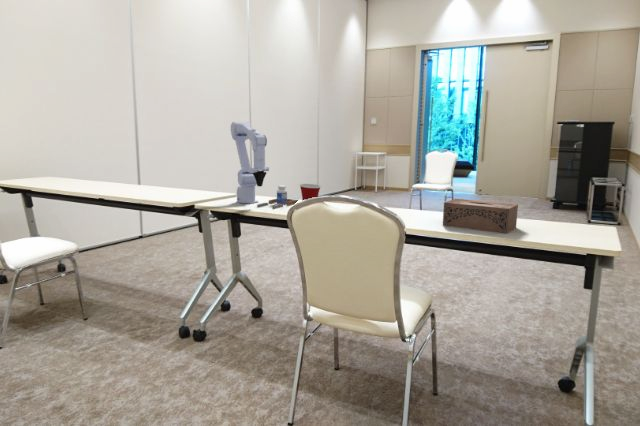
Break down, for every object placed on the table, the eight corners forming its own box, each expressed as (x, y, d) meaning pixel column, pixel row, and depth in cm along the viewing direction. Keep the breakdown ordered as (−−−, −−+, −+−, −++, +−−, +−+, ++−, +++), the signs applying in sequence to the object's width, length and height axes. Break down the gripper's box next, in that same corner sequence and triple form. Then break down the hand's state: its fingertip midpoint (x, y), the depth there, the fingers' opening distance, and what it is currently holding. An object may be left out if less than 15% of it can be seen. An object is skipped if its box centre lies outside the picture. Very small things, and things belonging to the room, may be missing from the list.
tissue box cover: (442, 226, 192) (444, 202, 190) (454, 220, 204) (455, 198, 202) (507, 234, 178) (509, 208, 176) (515, 228, 189) (518, 204, 188)
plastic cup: (315, 210, 224) (316, 186, 222) (295, 209, 229) (295, 185, 227) (324, 207, 234) (324, 184, 232) (304, 206, 238) (305, 183, 236)
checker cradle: (257, 206, 234) (257, 204, 234) (266, 204, 241) (266, 202, 241) (274, 208, 229) (274, 205, 229) (283, 206, 236) (283, 203, 236)
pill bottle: (275, 203, 245) (275, 185, 244) (284, 203, 248) (284, 184, 246) (279, 205, 241) (279, 186, 239) (288, 204, 244) (288, 186, 242)
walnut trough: (268, 203, 245) (268, 200, 245) (279, 201, 254) (279, 198, 254) (288, 205, 239) (288, 202, 239) (298, 203, 248) (298, 199, 248)
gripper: (257, 160, 223) (257, 188, 226) (273, 158, 236) (274, 185, 238) (245, 159, 227) (246, 187, 229) (262, 158, 239) (262, 184, 242)
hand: (259, 186), depth 234 cm, fingers closed
